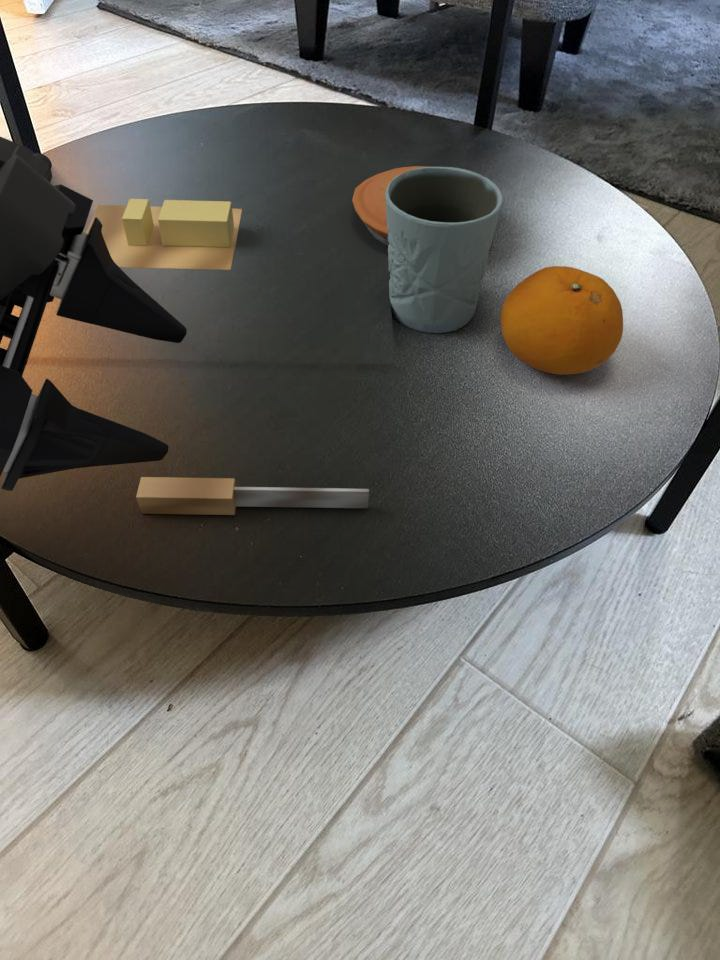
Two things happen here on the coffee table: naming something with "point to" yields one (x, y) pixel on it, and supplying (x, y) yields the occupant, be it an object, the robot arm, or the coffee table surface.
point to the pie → (376, 201)
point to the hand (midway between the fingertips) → (175, 390)
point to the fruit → (562, 320)
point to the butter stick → (196, 223)
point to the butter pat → (138, 221)
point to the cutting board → (160, 245)
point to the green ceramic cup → (439, 244)
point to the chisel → (235, 496)
